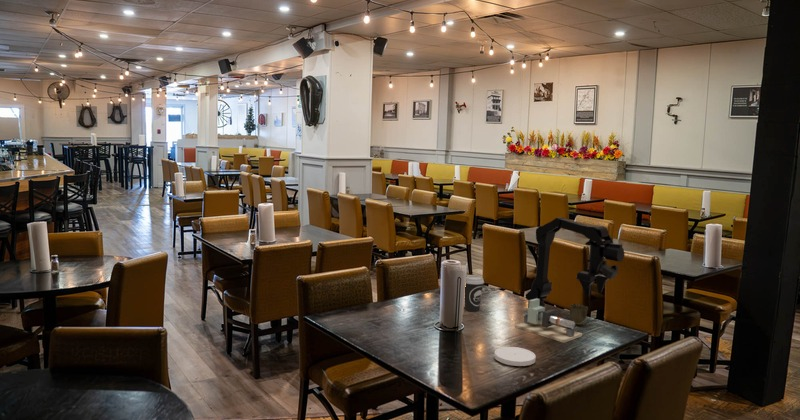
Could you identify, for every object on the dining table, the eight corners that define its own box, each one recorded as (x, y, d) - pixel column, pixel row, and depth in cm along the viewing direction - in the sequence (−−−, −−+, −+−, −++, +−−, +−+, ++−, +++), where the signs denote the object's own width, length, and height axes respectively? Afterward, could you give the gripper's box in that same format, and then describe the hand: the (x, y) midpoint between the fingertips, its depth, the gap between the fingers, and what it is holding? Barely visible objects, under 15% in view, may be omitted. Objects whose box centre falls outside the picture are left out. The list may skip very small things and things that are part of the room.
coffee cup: (482, 307, 262) (483, 275, 260) (483, 313, 253) (484, 280, 251) (461, 306, 263) (462, 274, 261) (461, 312, 254) (462, 279, 252)
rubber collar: (541, 326, 229) (542, 311, 229) (550, 323, 233) (551, 309, 233) (546, 327, 228) (547, 312, 227) (554, 324, 232) (555, 310, 231)
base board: (514, 327, 235) (514, 324, 235) (533, 321, 244) (533, 318, 244) (564, 342, 218) (564, 340, 218) (582, 335, 227) (582, 333, 227)
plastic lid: (515, 372, 189) (516, 364, 189) (485, 358, 201) (486, 351, 200) (543, 363, 198) (544, 356, 197) (513, 351, 209) (513, 344, 209)
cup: (583, 328, 236) (584, 309, 235) (565, 324, 240) (566, 306, 239) (589, 324, 242) (590, 306, 241) (572, 320, 246) (573, 302, 245)
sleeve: (527, 321, 234) (528, 300, 233) (535, 319, 238) (537, 298, 237) (535, 324, 231) (536, 302, 230) (544, 321, 235) (545, 300, 234)
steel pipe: (523, 322, 238) (523, 308, 237) (527, 321, 240) (528, 307, 239) (570, 337, 222) (571, 321, 221) (574, 335, 224) (575, 320, 223)
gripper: (602, 263, 220) (599, 303, 222) (627, 258, 232) (624, 295, 234) (577, 258, 228) (574, 296, 230) (602, 253, 240) (599, 289, 242)
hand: (593, 294), depth 234 cm, fingers open, 9 cm apart
